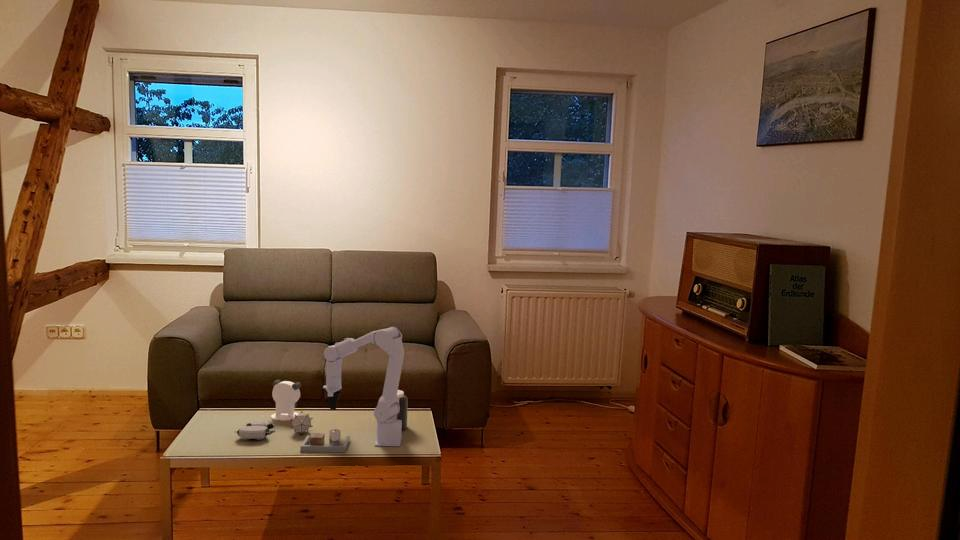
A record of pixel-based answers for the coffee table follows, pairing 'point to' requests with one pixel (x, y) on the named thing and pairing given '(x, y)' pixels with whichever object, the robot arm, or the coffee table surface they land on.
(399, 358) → the robot arm
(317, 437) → the walnut block
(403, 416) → the jar
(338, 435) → the silver cylinder
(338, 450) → the parts pen
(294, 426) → the game die
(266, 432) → the robot toy
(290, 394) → the panda figurine
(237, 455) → the coffee table surface
